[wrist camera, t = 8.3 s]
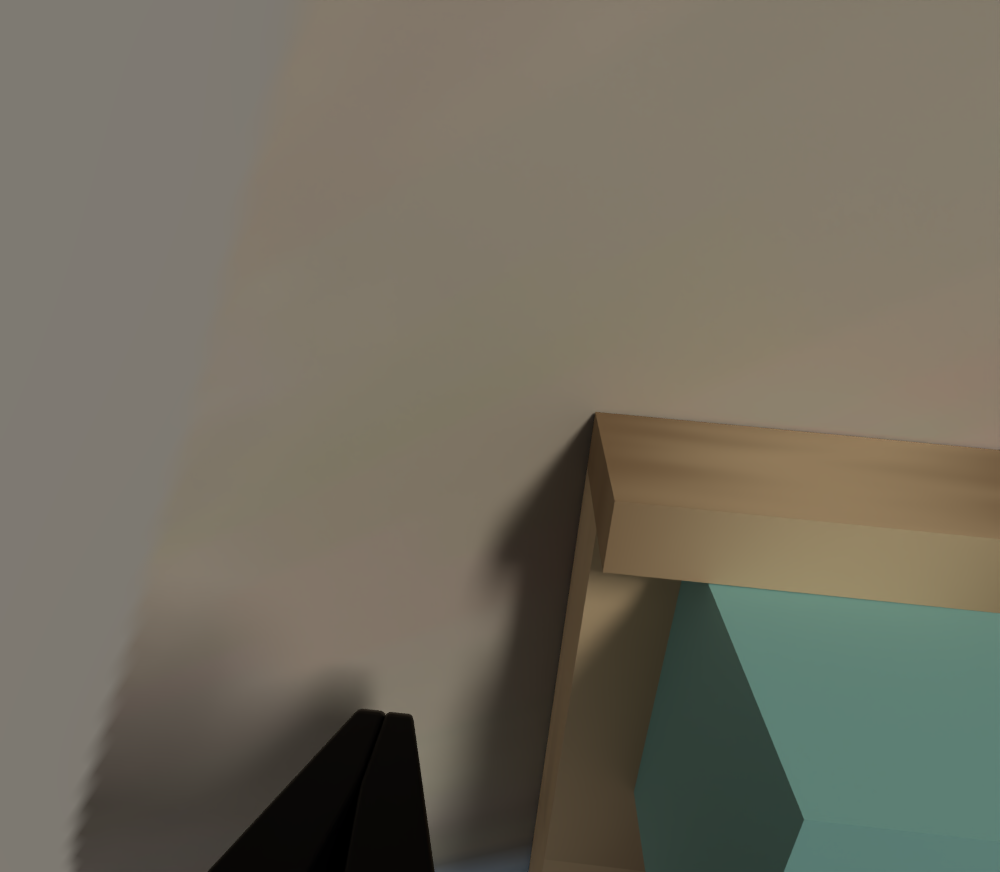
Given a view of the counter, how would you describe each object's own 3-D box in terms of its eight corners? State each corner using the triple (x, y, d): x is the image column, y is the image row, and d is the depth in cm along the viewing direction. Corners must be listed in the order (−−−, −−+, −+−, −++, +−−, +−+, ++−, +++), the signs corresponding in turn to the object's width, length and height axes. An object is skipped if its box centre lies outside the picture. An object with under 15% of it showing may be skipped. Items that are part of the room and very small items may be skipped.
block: (1064, 577, 8) (1484, 896, 5) (935, 826, 10) (1157, 1193, 6) (691, 540, 8) (804, 819, 5) (634, 792, 10) (683, 1129, 7)
